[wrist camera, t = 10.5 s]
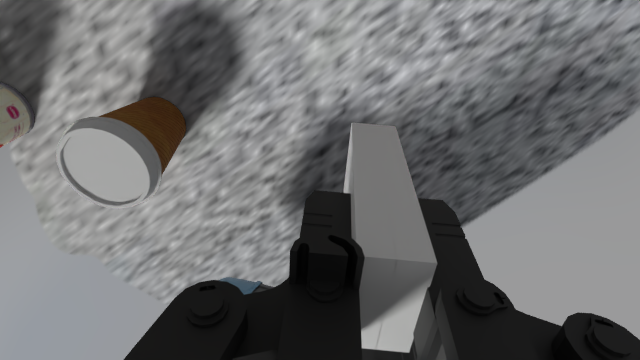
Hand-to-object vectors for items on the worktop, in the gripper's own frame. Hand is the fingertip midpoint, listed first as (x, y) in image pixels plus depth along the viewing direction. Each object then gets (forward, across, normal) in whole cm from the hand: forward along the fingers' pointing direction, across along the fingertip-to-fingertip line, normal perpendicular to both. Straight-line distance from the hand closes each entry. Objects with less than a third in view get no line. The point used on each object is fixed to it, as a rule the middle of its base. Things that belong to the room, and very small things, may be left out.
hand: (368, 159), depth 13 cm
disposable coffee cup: (+29, +22, +12) cm, 38 cm away
